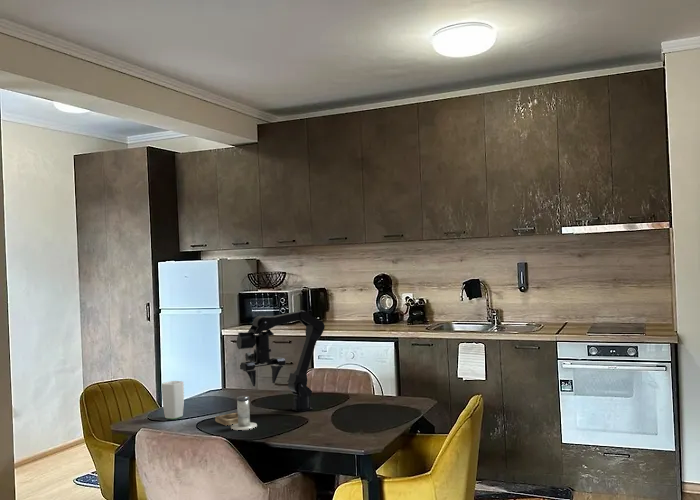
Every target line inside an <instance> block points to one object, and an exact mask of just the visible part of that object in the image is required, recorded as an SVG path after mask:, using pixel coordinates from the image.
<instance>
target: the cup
mask: <svg viewBox="0 0 700 500" xmlns="http://www.w3.org/2000/svg"><path fill="white" fill-rule="evenodd" d="M184 385H185V384H184V381H182V380H181V381H179V380H170V381H166V382H163V383H161V398H162V399H161V401H162V407H163V412H164V418H165V419H167V420H177V419H180V418H182V417H183V415H184V404H185V403H184V402H185V395H184V394H185V392H184V391H185V390H184V389H185V388H184Z"/></svg>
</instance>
